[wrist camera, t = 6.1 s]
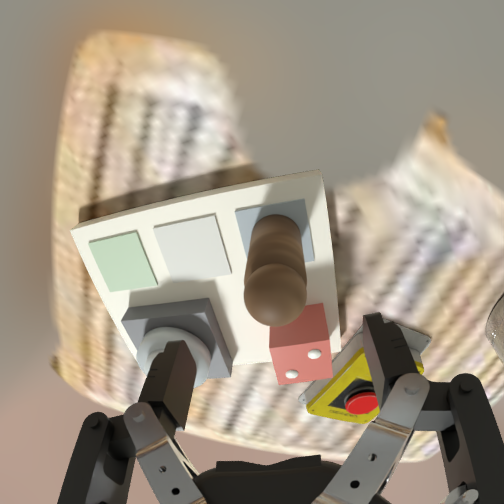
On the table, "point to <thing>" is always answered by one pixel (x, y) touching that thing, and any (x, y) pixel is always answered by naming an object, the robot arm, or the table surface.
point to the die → (302, 347)
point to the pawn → (275, 272)
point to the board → (206, 264)
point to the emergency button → (354, 381)
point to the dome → (157, 342)
